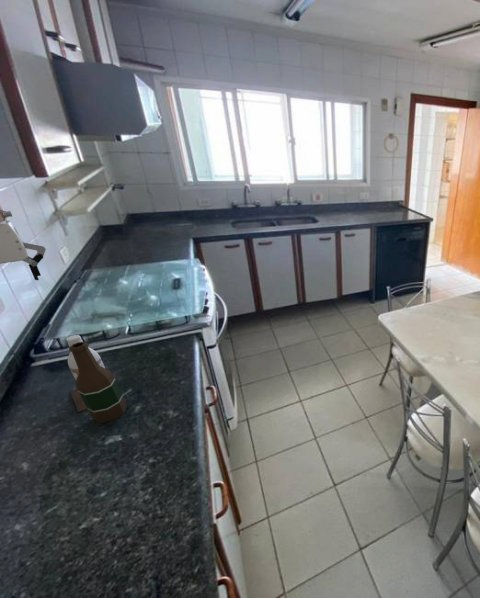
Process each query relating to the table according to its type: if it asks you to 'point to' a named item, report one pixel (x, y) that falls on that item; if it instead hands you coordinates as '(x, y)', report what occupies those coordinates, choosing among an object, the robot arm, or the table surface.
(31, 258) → the robot arm
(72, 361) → the bath foam
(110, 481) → the table surface
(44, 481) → the table surface
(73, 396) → the brown flat square slab
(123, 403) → the beer bottle
